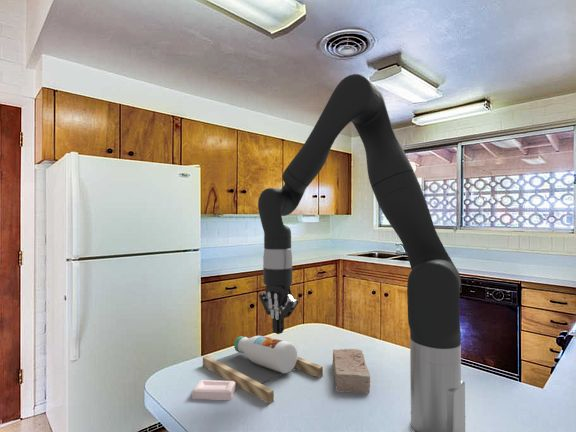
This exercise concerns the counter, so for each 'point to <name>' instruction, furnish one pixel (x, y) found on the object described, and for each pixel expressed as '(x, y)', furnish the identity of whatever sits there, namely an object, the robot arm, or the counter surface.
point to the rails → (252, 385)
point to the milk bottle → (268, 352)
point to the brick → (350, 371)
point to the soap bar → (214, 390)
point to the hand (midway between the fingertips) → (278, 332)
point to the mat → (250, 368)
